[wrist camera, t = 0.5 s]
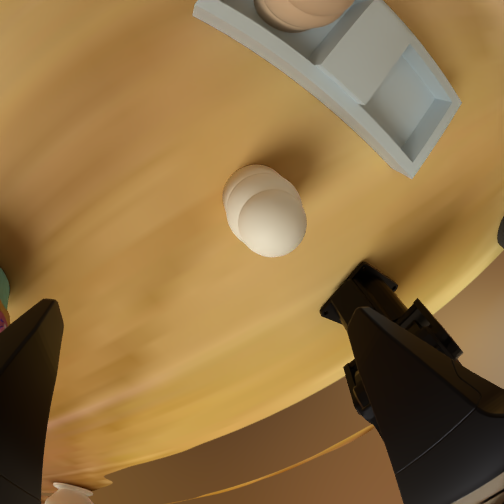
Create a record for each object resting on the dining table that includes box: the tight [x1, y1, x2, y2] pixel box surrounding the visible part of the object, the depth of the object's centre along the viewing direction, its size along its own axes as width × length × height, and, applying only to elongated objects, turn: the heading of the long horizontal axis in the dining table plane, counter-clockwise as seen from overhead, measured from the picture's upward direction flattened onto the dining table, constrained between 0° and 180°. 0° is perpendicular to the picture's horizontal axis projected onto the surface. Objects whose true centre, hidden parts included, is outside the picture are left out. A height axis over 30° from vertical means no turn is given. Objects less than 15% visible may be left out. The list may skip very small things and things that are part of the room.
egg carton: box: [193, 0, 462, 179], centre depth 14 cm, size 18×8×3 cm, turn 55°
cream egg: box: [223, 164, 307, 257], centre depth 18 cm, size 5×5×6 cm
